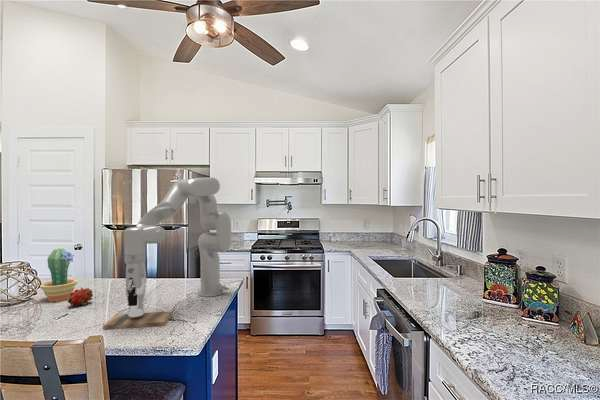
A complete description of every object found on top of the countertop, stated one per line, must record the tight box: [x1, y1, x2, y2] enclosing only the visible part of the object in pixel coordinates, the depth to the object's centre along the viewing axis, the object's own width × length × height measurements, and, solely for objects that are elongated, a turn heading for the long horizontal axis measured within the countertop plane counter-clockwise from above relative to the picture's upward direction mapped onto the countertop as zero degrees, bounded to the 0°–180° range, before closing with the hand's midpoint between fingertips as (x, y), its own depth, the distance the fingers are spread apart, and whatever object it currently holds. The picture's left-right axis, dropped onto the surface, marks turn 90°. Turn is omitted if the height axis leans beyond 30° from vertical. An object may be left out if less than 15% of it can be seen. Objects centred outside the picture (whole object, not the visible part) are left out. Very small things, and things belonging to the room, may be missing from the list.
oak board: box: [102, 310, 173, 331], centre depth 130 cm, size 22×12×2 cm, turn 98°
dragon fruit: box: [67, 287, 94, 308], centre depth 153 cm, size 8×8×12 cm
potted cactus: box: [39, 247, 78, 303], centre depth 163 cm, size 15×15×25 cm
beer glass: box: [125, 277, 146, 318], centre depth 131 cm, size 7×7×15 cm
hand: (136, 302), depth 131 cm, fingers closed on beer glass, 6 cm apart
